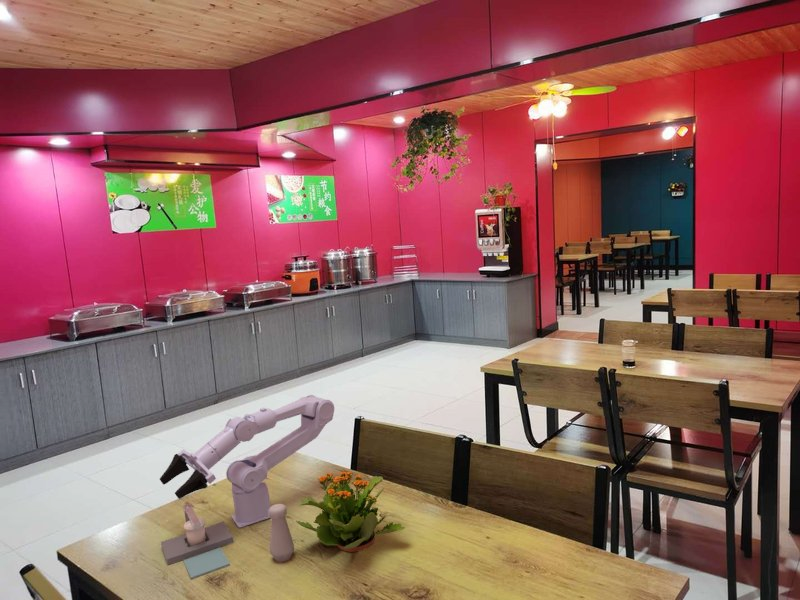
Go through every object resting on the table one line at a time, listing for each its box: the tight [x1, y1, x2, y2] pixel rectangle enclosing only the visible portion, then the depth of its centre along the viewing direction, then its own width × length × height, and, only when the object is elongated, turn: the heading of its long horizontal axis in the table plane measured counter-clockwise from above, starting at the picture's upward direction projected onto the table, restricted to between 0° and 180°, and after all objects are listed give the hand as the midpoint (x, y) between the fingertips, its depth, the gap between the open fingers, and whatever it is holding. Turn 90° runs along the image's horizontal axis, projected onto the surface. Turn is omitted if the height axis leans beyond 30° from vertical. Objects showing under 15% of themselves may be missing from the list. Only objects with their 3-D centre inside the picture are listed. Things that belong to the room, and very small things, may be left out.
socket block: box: [160, 521, 234, 566], centre depth 148 cm, size 16×10×2 cm, turn 121°
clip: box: [182, 503, 201, 529], centre depth 150 cm, size 14×2×1 cm, turn 31°
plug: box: [183, 517, 207, 547], centre depth 148 cm, size 5×5×6 cm
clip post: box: [183, 511, 190, 523], centre depth 155 cm, size 2×2×6 cm
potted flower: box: [295, 471, 406, 553], centre depth 142 cm, size 25×24×18 cm
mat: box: [183, 547, 231, 580], centre depth 140 cm, size 9×9×1 cm
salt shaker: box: [269, 503, 295, 563], centre depth 139 cm, size 6×6×13 cm
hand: (169, 488), depth 145 cm, fingers open, 7 cm apart
